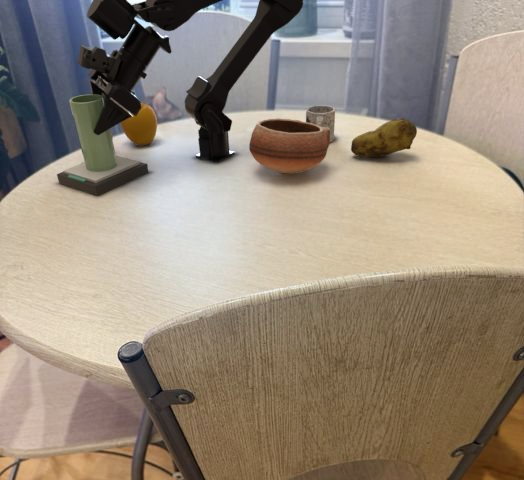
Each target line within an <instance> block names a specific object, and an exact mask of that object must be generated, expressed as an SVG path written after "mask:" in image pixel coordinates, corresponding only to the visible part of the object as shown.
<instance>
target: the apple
mask: <svg viewBox="0 0 524 480" xmlns="http://www.w3.org/2000/svg"><path fill="white" fill-rule="evenodd" d="M130 114H131V115H132V117H131V118H128V119H126V120H124V121H122V122H121V123H120V125H121V129H122V131H123V133H124V134H125V136H126V137H127V139H128V140H129V141H130V142H131V143H133V144H134V145H136V146H140V147H141V146H142V147H143V146H147V145H149V144H152V143H153V142H154V140H155V137H156V134H157V129H158V117H157V115H156V113H155V110H154V109H153V107H152V106H150V105H149V104H146V103H141V109H140V111H139V112H138V114H137V116H135V115H133V114H132V113H131V112H130Z"/></svg>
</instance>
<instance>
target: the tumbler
mask: <svg viewBox="0 0 524 480" xmlns="http://www.w3.org/2000/svg"><path fill="white" fill-rule="evenodd" d="M69 106H70V109H71V113H72V118H73V121H74V127H75V129H76V133H77V138H78V142H79V146H80V150H81V155H82V158H83V163H84V162H85V166H86V169H87V170H89V171H94V172H100V171H107V170H110V169H113V168H114V167H116V166H117V159H116V155H117V154H116V149H115V145H114V141H113V140H112V137H113V134H112V135H111V132H112V130H111V128H110V129H108V130H107V131H105V132H103V133H102V134H100V135H96V134H95V133H94V132H93V131H94V128H95V126H96V123H97V121H98V118H99V116H100V114H101V112H102V109H103V107H104V101H103V96H102V95H98V94H91V93H90V94H89V93H88V94H81V95H76V96H73V97H71V98H70V99H69ZM110 130H111V131H110Z"/></svg>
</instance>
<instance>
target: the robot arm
mask: <svg viewBox="0 0 524 480" xmlns="http://www.w3.org/2000/svg"><path fill="white" fill-rule="evenodd" d="M220 2H223V0H144V1H141V2H138V3H137V2H136V3H134V4H131V3H130V2H129V1H128V0H92V2H91V3H90V5H89V7H88V10H87V13H86V17H87V19H89V20H90V21H91V22H92V23H94V24H95V25H96V26H97V27H98V28H100V29H101V30H102V31H103V32H104V33H106V34H107V35H108V36H109V37H110V38H111V39H112V40H114V41H115V40H117V39H118V38H120V39H121V40H124V39H125V40H124V41H123V43H122V45H121V46H120V48H119V49H118V50H117V49H113V50H112V51H111V53H110V54H108V53H107V51H106V49H104V48H100V47H98V46H96V45H95V46H94V47H89V46H87V45H83V44H80V46H79V51H78V58H77V64H79V66H80V67H81V68H85V69H86V70H90V71H89V73H88V74H87V76H88V77H89V78H88V79H87V81H88V84H89V87H90V94H98V95H102V96H103V101H104V107H103V109H102V112H101V114H100V116H99V118H98V121H97V123H96V126H95V128H94V131H93V132H94V133H95V134H96V135H100V134H102V133H103V132H105V131H107V130H108V129H110V130H111V129H112V128H113V127H115V126H117V125H119V124H121V122H122V121H124V120H126V119H128V118H131V117H132V115H131V114H130V112H131V113H132V114H133V115H135V116H137V114H138V112H139V111H140V109H141V104H142V103H141V100H140V99H139V98H138V97H137V96H136V92H135V91H134V90H135V88H137V87H136V86H137V85H138V84H139V82H140V80H141V79H143V80H145V79H146V78H147V76H148V74H147V73H146V71H147V69H148V68H149V66H150V65H151V63H152V61H153V60H154V59H155V57H156V56H157V54H158V52H159V50H160V49H161V50H162V51H164V52H165V53H167V54H169V55H170V54H171V53H172V52H173V51H172V47H171V42H170V41H171V38H170V36H168V35H161V34H160V33H159V32H158V31H157V30H156V29H154V28H153V27H152V26H154V27H156V28H158V29H160V30H162V31H164V32H173V31H176V30H177V29H178V28H180V27H181V26H182V25H184V24H186V23H187V22H188V21H190V20H191V18H193V17H194V15H195V14H196V13H198V12H200V11H201V10H204V9H206V8H208V7H210V6H212V5H214V4H215V5H216V4H218V3H220ZM303 6H304V0H259V1H258V4H257V7H256V12H255V16H254V17H253V19H252V21H251V22H250V23H249V25H247V27H246V28H245V30H244V31H243V32H242V34H241V35H240V37H239V38H238V39H237V41H236V42H235V43H234V44H233V46H232V47H231V48H230V50H229V52H228V53H227V54H226V55H225V57H224V58H223V59H222V61H221V63H219V65H218V66H217V67H216V69H215V70H214V72H213V73H212V74H211V75H210V76H208V77H207V78H206V79H204V78H203V77H201V76H197V77H196V78H195V79H194V82H193V84H192V85H191V87H190V88H188V89H186V90H185V93H186V96H185V98H184V109H185V111H186V113H187V115H188V116H190V117H191V118H192V119H193V120H194V122H195V124H196V125H198V126H199V129H198V131H197V132H198V140H197V141H198V148H199V153H197V154H195V157H196V158H197V159H200V160H205V161H210V162H213V163H219V162H222V161H223V160H226V159H229V157H232V156H234V155H235V154H236V152H235V151H234V150H230V142H229V141H230V140H229V132H230V131H231V128H232V124H233V120H232V119H231V118H230V117H229V116H227V115H226V114H225V113H224V112H223V111H224V109H225V108H226V104H227V103H228V98H229V94H230V91H231V90H232V89H233V87H234V85H235V84H236V83H237V82H238V80H239V79H240V78H241V77H242V75H243V74H244V72H245V71H246V70H247V68H248V67H249V66H250V65H251V63H252V62H253V61H254V59H255V58H256V56H257V55H258V54H259V52H260V51H261V50H262V48H264V46H265V45H266V43H267V42H268V41H269V40H270V38H271V36H272V35H273V34H274V33H276V32H278V31H279V30H281V29H282V28H283V27H285V26H287V25H288V24H289V23H290V22H291V21H292V20H293V19H294V18H296V17H297V15H299V14H300V12H301V10H302V9H303ZM135 18H136V19H138V20H141V21H142V22H145V23H148V24H151V25H148V26H146V27H144V26H143V25H142V24H141V23H140V22H139V21H137V20H136V19H135Z"/></svg>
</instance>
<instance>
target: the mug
mask: <svg viewBox="0 0 524 480" xmlns="http://www.w3.org/2000/svg"><path fill="white" fill-rule="evenodd" d="M335 121H336V107H334V106H331V105H325V104H324V105H323V104H320V105H319V104H317V105H316V104H315V105H311V106H308V107H307V108H306V109H305V122H308V123H312V124H316V125H318V126H321V127H328V128H329V129H330V143H332V142H333V141H334V140H335V123H336V122H335Z"/></svg>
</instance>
